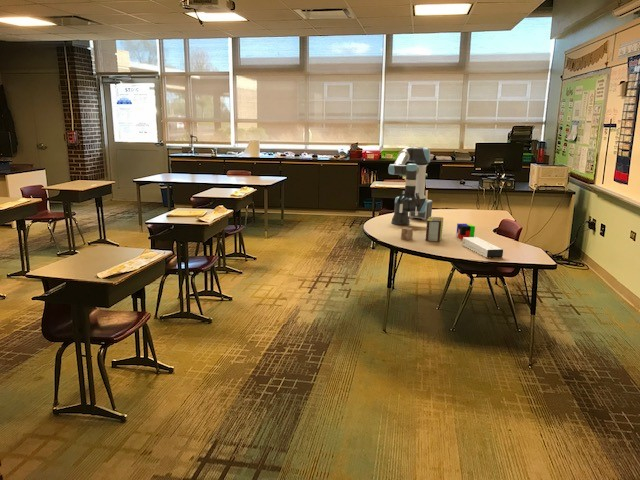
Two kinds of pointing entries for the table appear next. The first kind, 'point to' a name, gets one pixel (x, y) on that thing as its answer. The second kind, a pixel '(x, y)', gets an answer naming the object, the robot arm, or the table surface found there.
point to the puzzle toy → (465, 230)
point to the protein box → (434, 229)
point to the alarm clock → (424, 215)
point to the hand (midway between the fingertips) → (408, 214)
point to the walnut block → (406, 233)
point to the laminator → (482, 247)
